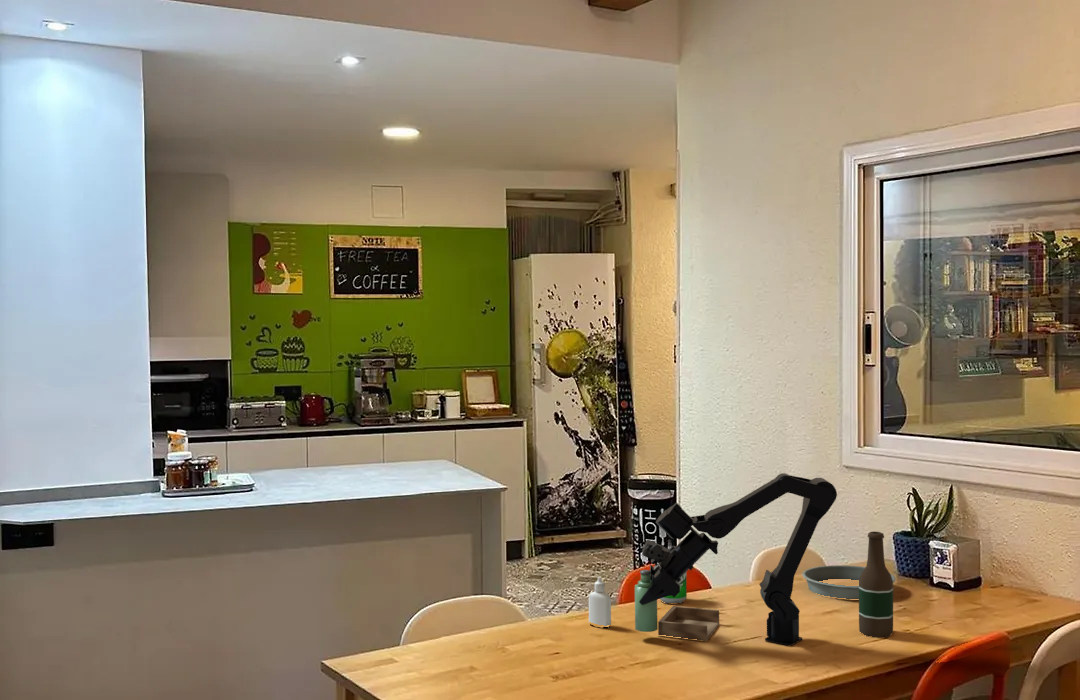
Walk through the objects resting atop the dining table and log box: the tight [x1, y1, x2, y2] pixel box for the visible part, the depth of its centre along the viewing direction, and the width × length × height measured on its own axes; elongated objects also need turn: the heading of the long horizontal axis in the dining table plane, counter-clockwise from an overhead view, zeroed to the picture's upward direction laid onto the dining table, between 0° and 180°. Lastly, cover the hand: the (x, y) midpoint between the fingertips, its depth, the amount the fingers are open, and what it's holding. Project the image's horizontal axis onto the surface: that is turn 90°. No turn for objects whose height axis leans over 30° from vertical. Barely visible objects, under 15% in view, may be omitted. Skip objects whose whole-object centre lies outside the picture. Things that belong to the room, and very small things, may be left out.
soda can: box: [659, 571, 688, 604], centre depth 271 cm, size 8×8×12 cm
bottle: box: [634, 569, 658, 633], centre depth 238 cm, size 5×5×14 cm
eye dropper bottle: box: [588, 576, 612, 626], centre depth 249 cm, size 4×6×12 cm
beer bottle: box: [858, 531, 894, 638], centre depth 241 cm, size 8×8×24 cm
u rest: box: [657, 605, 720, 642], centre depth 245 cm, size 12×15×4 cm
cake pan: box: [801, 564, 896, 599], centre depth 280 cm, size 25×25×4 cm
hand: (640, 600), depth 238 cm, fingers closed on bottle, 5 cm apart
